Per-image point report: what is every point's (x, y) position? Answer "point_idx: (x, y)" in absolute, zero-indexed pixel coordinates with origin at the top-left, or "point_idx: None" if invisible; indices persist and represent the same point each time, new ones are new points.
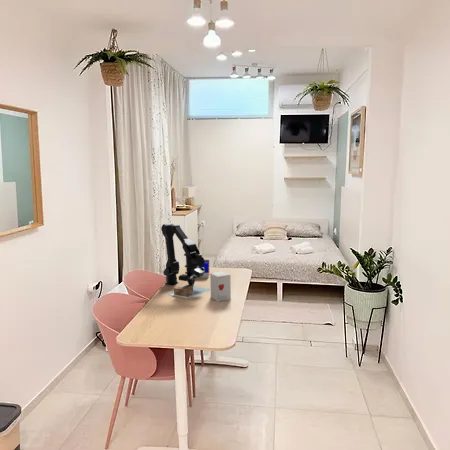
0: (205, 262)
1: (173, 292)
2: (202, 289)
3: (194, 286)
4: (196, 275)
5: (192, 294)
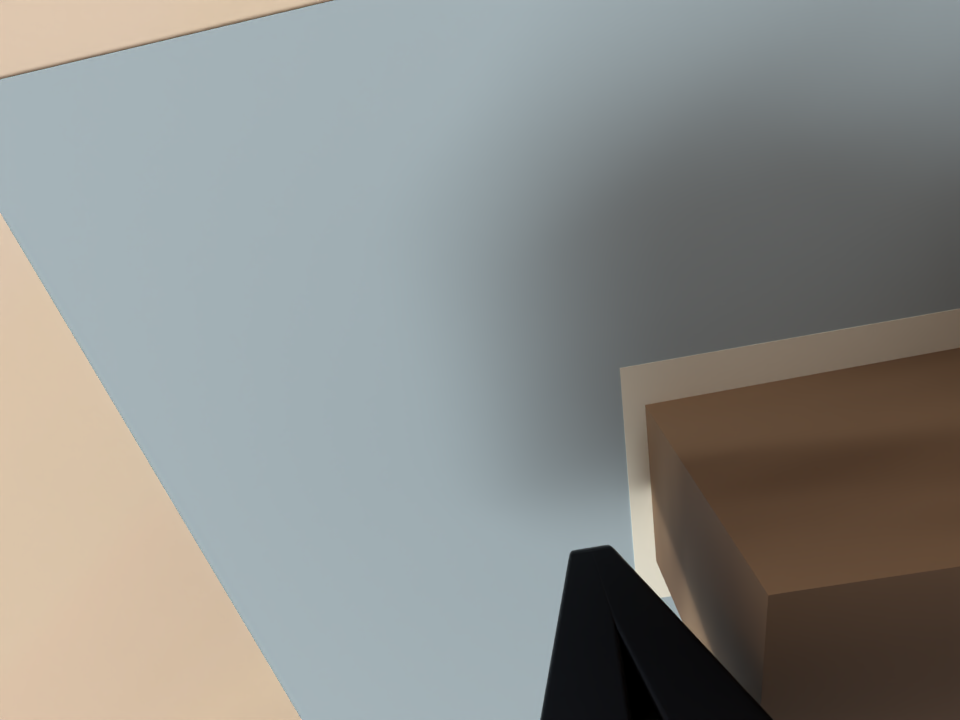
0: None
1: None
2: (258, 349)
3: (278, 669)
4: None
5: (943, 188)
